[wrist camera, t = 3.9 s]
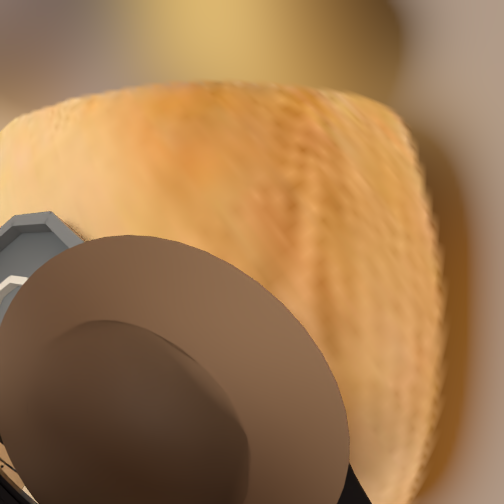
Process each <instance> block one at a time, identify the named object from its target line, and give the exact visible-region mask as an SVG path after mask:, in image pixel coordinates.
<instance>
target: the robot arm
mask: <svg viewBox="0 0 504 504" xmlns="http://www.w3.org/2000/svg"><path fill="white" fill-rule="evenodd" d="M24 486H25V485H24V483H23V482H22V480H21V478H20V477H19V475H18V473H17V471H16V470H15V468H14V466H13V464H12V462H11V460H10V458H9V456H8V453H7V451H6V449H5V446H4V444H3V441H2V438H1V435H0V504H37V503H36V502H35V501H34V500H33V499H32V498H30V497H29V496H28V495H27V494H26V493H25V492H24V491H23V490H22V489H23V487H24ZM337 504H372V503H371V502H370V500H369V498H368V497H367V495H366V493H365V491H364V490H363V488H362V486H361V485H360V483H359V481H358V479H357V477H356V476H355V474H354V472H353V469H352V467H351V465H350V463H349V465H348V470H347V475H346V479H345V484H344V488H343V490H342V493H341V495H340V498H339V500H338V502H337Z"/></svg>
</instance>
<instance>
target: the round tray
mask: <svg viewBox="0 0 504 504" xmlns="http://www.w3.org/2000/svg"><path fill="white" fill-rule="evenodd" d="M84 242H86V241H85V240H84V239H83V238H82V237H80V236H79V235H78V234H77V233H76V232H75V231H74V230H73V229H72V228H70V227H69V226H68V225H67V224H66V223H65V222H63V221H62V220H61V219H60V218H59V217H57V216H56V215H55V214H54V213H53V212H51V211H49V212H40V213H31V214H23V215H15V216H13V217H12V218H11V219H10V220H8V221H7V222H6V223H5V224H4V225H3V226H2V227H1V228H0V326H1V323H2V320H3V317H4V315H5V313H6V311H7V309H8V307H9V305H10V303H11V301H12V300H13V298H14V297H15V295H16V294H17V292H18V291H19V289H20V288H21V286H22V285H23V284H24V283H25V282H26V281H27V279H28V278H29V277H30V276H31V275H32V274H33V273H34V272H35V271H36V270H37V269H38V268H40V267H41V266H42V265H43V264H45V263H46V262H47V261H48V260H50V259H51V258H53V257H55V256H56V255H58V254H60V253H61V252H63V251H65V250H66V249H69V248H71V247H74V246H76V245H79V244H81V243H84Z"/></svg>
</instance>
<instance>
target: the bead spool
mask: <svg viewBox="0 0 504 504" xmlns="http://www.w3.org/2000/svg"><path fill="white" fill-rule="evenodd" d="M0 435H1V438H2V441H3V444H4V446H5V449H6V451H7V453H8V456H9V458H10V460H11V462H12V464H13V466H14V468H15V470H16V471H17V473H18V475H19V477H20V478H21V480H22V482H23V483H24V485H25V486H26V488H27V489H28V490H29V492H30V493H31V495H32V496H33V497H34V499H35V500H36V501H37V502H38V503H39V504H337V502H338V500H339V498H340V495H341V493H342V490H343V488H344V484H345V479H346V475H347V470H348V465H349V445H350V437H349V430H348V423H347V416H346V410H345V407H344V404H343V400H342V397H341V394H340V391H339V388H338V385H337V382H336V380H335V378H334V376H333V374H332V372H331V370H330V368H329V366H328V364H327V362H326V360H325V358H324V356H323V354H322V353H321V351H320V350H319V348H318V347H317V345H316V344H315V342H314V341H313V339H312V338H311V337H310V335H309V334H308V332H307V331H306V329H305V328H304V327H303V326H302V325H301V323H300V322H299V321H298V320H297V319H296V318H295V317H294V316H293V314H292V313H291V312H290V311H289V310H288V309H287V308H286V307H285V306H284V304H283V303H281V302H280V301H279V300H278V299H277V298H276V297H274V296H273V295H272V294H271V293H270V292H269V291H268V290H266V289H265V288H264V287H263V286H262V285H261V284H260V283H258V282H257V281H255V280H254V279H252V278H251V277H249V276H248V275H246V274H245V273H243V272H242V271H241V270H239V269H238V268H236V267H235V266H233V265H231V264H229V263H227V262H225V261H223V260H221V259H219V258H218V257H216V256H214V255H212V254H210V253H208V252H206V251H203V250H200V249H197V248H194V247H192V246H189V245H186V244H183V243H180V242H176V241H172V240H167V239H162V238H157V237H151V236H135V235H124V236H112V237H104V238H99V239H95V240H91V241H87V242H84V243H81V244H79V245H76V246H74V247H71V248H69V249H66V250H65V251H63V252H61V253H60V254H58V255H56V256H55V257H53V258H51V259H50V260H48V261H47V262H46V263H45V264H43V265H42V266H41V267H40V268H38V269H37V270H36V271H35V272H34V273H33V274H32V275H31V276H30V277H29V278H28V279H27V281H26V282H25V283H24V284H23V285H22V286H21V288H20V289H19V291H18V292H17V294H16V295H15V297H14V298H13V300H12V301H11V303H10V305H9V307H8V309H7V311H6V313H5V315H4V317H3V320H2V323H1V326H0Z"/></svg>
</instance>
